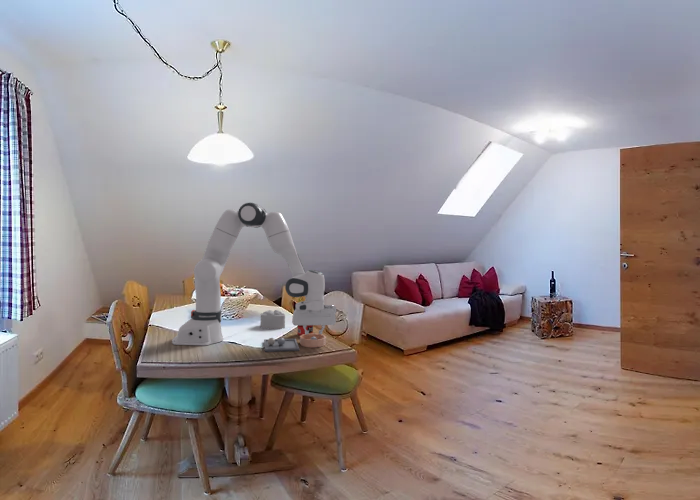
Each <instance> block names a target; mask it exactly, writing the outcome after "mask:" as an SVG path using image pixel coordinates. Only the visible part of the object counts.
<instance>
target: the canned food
mask: <svg viewBox="0 0 700 500" xmlns="http://www.w3.org/2000/svg"><path fill="white" fill-rule="evenodd" d="M306 330H308V331H309V334H310V333H314V325H306ZM303 334H305V330H304V328H303V325H297V336H299V337H300V336H301V335H303Z"/></svg>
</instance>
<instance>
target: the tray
mask: <svg viewBox="0 0 700 500" xmlns="http://www.w3.org/2000/svg"><path fill="white" fill-rule="evenodd" d="M268 339H269V338H268ZM268 339H263V346H264V352H265V353H269V352H270V353H272V352H273V353H274V352H278V353H279V352H300V346H299V344H298V343H299V342H298V341H297V338H284V339H285V343H284V344H283V345H279V344H278V339H279V338H276V339H275V338H274V340H275V343H274V345H269V344H268Z"/></svg>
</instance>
